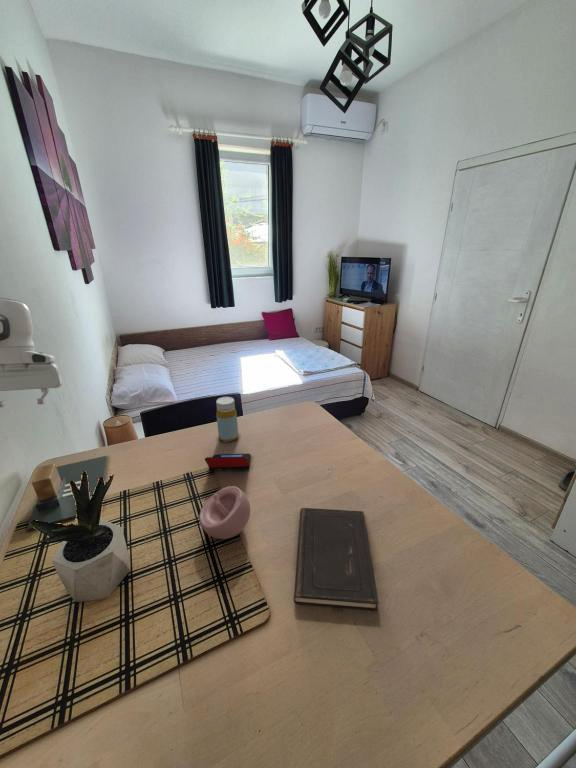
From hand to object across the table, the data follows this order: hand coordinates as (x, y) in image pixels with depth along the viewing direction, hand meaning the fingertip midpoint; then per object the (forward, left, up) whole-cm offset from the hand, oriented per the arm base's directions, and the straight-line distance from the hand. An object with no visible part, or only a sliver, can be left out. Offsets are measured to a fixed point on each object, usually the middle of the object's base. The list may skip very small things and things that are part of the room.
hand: (21, 405), depth 94 cm
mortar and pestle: (+46, -47, -23) cm, 70 cm away
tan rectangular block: (+5, -16, -22) cm, 28 cm away
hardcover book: (+66, -64, -23) cm, 95 cm away
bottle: (+57, -6, -23) cm, 62 cm away
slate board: (+9, -14, -23) cm, 28 cm away
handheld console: (+53, -23, -23) cm, 63 cm away
